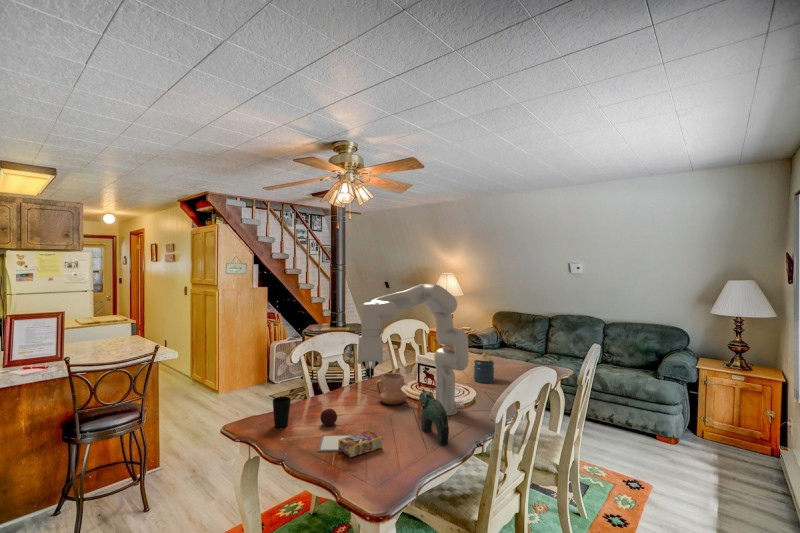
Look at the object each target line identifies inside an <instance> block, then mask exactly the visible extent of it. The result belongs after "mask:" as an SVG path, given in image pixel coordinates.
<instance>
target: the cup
mask: <svg viewBox="0 0 800 533" xmlns="http://www.w3.org/2000/svg"><path fill="white" fill-rule="evenodd" d="M290 408H291V397H289V396H278V397H275V398H273V399H272V410H273V423H274V428H275V429H277V428H279V430H281V429H280V428H283V429H286V428H287V427H288V426H289V425H288V424H289V416H290ZM285 427H286V428H285Z"/></svg>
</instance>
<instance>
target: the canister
mask: <svg viewBox="0 0 800 533" xmlns="http://www.w3.org/2000/svg"><path fill="white" fill-rule="evenodd" d="M474 359H475V360H474V361H473V363H474V365H473V381H474V380H475V381H474V382H476V381H477V382H476V383H479V382H482V383H481V384H491V383H490V382H492V383H494V382H495V362H494V358H492V357H491V356H489V355H487V354H486V353H485V352H484V353H482V354H481V355H478V356H476V357H475V358H474ZM493 381H494V382H493Z"/></svg>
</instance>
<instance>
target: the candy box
mask: <svg viewBox="0 0 800 533" xmlns="http://www.w3.org/2000/svg"><path fill="white" fill-rule="evenodd" d="M351 435H352V436H349V437H345V438H342V439H339V441H338V447H339V450H340V451H339V452H342V453H344V454H345V455H346V456H348V457H349V458H352V457H355V456H358V455H362V454H365V453H368V452H373V451H372V450H375V451H376V450H378V449H381V448H383V445H384V440H383V438H384V437H383V436H381V435H379V434H377V433H375V432H374V431H373V430H371V429H370V430H367V431H363V432H359V433H356V434H351Z"/></svg>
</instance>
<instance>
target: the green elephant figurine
mask: <svg viewBox="0 0 800 533" xmlns="http://www.w3.org/2000/svg"><path fill="white" fill-rule="evenodd" d="M433 393H435V391H434V388H432V387H431V388H430V390H429V391H426V390H425V389H424V388H422V390H421V392H420V394H419V396H418V397H419V398H418V399H419V400H418V402H419V405H420V406H421V408H422V410H421V419H420V421H421V431H423V432H424V433H428V432H432V428H433V427H432V426H433V423H434V425H435V427H436V433H437V439H438V440H437V441H438V445H440V446H441V445H442V447H443V445H444V446H448V444H449V434H450V428H449V418H448V416H447V413H446V410H445V408H444V406H443V404H442V403H441V402H440V401H438V400H436V398H435V395H434V394H433Z"/></svg>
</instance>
